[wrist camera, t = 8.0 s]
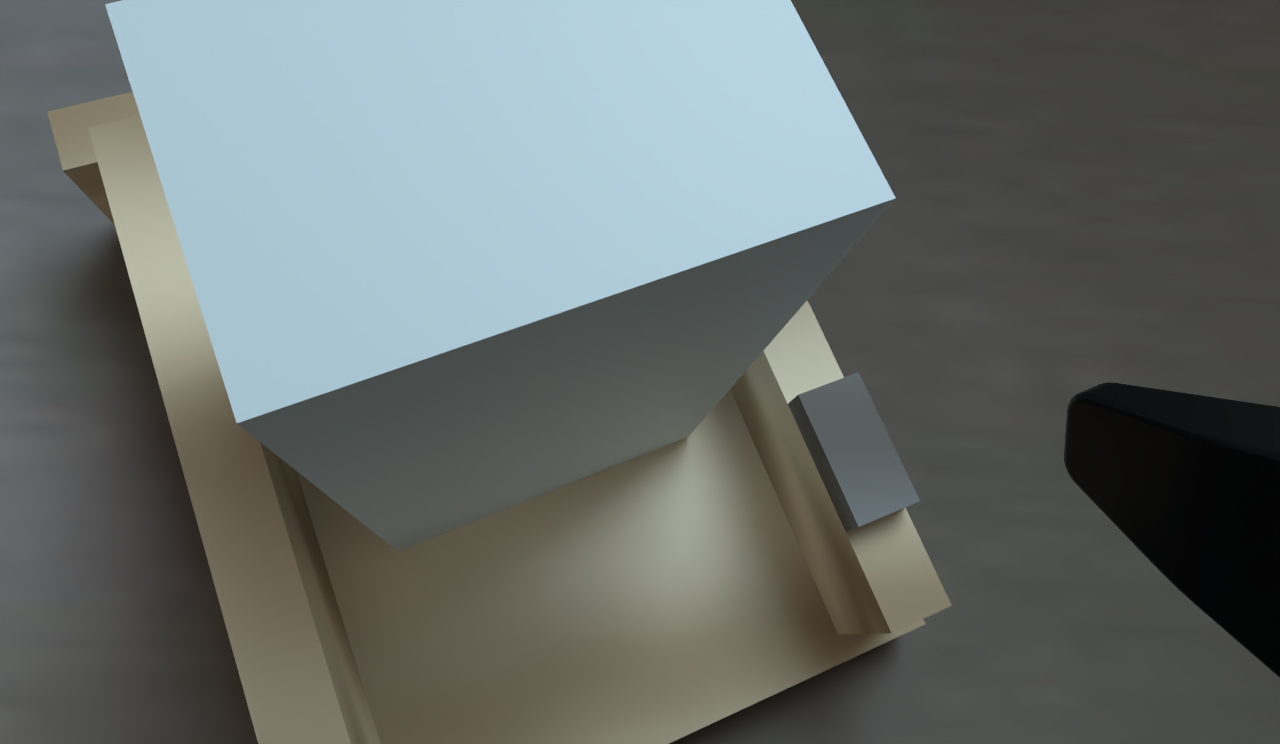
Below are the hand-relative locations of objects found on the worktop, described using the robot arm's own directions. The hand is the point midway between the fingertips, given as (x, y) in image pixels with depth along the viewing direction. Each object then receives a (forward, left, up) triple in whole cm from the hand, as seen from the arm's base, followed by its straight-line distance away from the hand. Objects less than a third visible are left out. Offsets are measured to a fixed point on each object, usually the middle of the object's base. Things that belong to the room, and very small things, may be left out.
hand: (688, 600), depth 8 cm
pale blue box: (+5, 0, -9) cm, 10 cm away
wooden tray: (+5, 0, -10) cm, 11 cm away
